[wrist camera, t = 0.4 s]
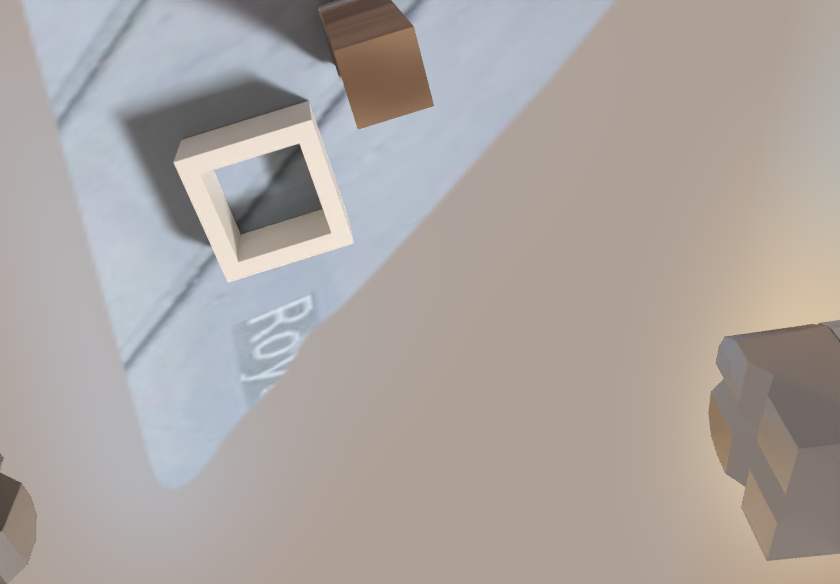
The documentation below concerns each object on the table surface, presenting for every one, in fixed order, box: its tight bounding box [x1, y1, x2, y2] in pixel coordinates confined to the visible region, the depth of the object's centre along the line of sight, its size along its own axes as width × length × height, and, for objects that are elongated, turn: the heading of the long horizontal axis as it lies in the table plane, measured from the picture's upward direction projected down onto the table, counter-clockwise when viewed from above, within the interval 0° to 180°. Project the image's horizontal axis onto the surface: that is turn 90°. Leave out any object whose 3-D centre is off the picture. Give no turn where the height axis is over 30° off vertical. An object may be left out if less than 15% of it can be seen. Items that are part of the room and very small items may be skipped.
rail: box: [317, 0, 434, 129], centre depth 44 cm, size 4×4×14 cm
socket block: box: [174, 101, 354, 282], centre depth 52 cm, size 9×9×4 cm
